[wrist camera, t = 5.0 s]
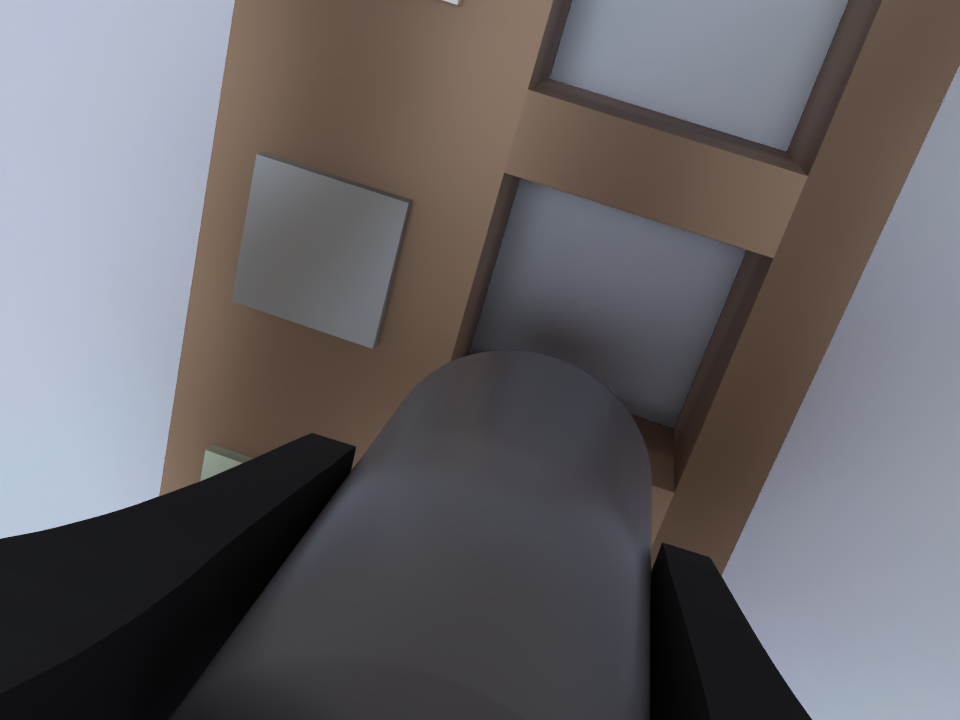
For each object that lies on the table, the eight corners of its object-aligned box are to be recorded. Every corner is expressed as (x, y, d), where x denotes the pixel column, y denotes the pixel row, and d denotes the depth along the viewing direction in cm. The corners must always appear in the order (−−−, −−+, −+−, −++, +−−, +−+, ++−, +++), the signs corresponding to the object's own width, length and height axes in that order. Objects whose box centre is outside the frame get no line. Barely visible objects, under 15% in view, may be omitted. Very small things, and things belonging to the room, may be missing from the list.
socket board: (1008, -160, 16) (1090, -202, 13) (628, 694, 23) (622, 796, 20) (359, -338, 17) (290, -418, 14) (201, 540, 24) (135, 614, 21)
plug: (688, 395, 12) (733, 843, 5) (608, 629, 14) (559, 1230, 7) (412, 316, 13) (112, 637, 6) (361, 552, 14) (68, 1044, 7)
